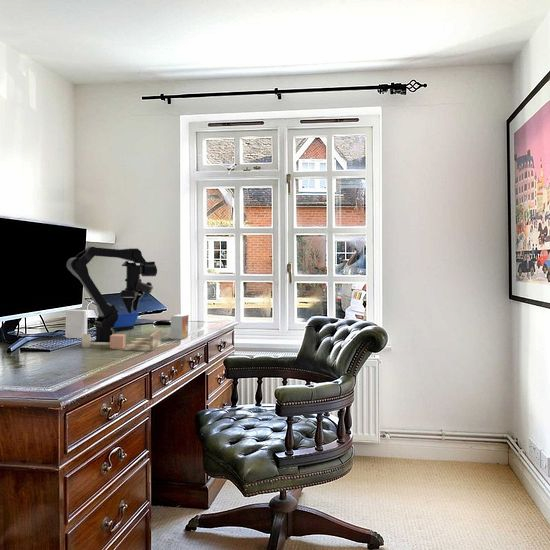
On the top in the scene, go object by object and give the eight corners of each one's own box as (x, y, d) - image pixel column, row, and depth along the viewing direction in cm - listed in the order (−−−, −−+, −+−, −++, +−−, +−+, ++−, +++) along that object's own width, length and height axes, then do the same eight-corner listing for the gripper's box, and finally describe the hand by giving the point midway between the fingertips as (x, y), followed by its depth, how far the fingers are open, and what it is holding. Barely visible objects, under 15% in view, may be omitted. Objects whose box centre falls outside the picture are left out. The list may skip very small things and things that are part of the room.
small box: (181, 339, 229) (182, 316, 229) (170, 338, 230) (170, 315, 230) (188, 337, 237) (188, 314, 236) (176, 336, 238) (177, 314, 238)
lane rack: (125, 350, 199) (125, 334, 199) (135, 342, 216) (136, 328, 216) (152, 350, 200) (153, 335, 199) (160, 343, 217) (161, 329, 217)
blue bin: (122, 327, 263) (123, 309, 262) (139, 330, 255) (140, 311, 255) (96, 330, 250) (96, 311, 250) (113, 333, 242) (113, 314, 242)
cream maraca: (80, 347, 200) (80, 335, 200) (83, 345, 205) (84, 333, 205) (122, 348, 202) (123, 336, 202) (125, 346, 207) (125, 334, 207)
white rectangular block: (90, 336, 231) (91, 309, 230) (81, 339, 222) (81, 311, 221) (71, 335, 232) (72, 308, 231) (61, 338, 223) (61, 310, 222)
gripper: (146, 278, 216) (145, 314, 217) (155, 276, 235) (155, 309, 235) (120, 277, 216) (119, 314, 216) (131, 275, 234) (131, 309, 235)
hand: (132, 311), depth 226 cm, fingers open, 9 cm apart
